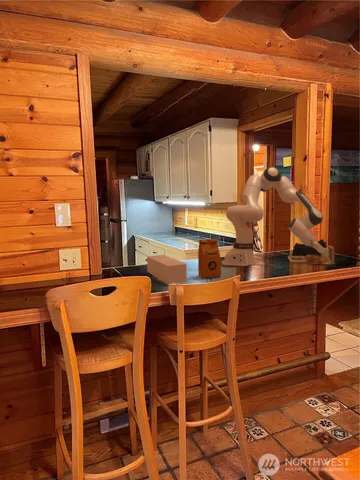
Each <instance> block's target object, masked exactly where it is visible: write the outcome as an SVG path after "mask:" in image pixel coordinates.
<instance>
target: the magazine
mask: <svg viewBox="0 0 360 480" xmlns="http://www.w3.org/2000/svg"><path fill="white" fill-rule="evenodd" d="M316 242H318V243H319V244H320V245H321V246H322V247H323V248H328V245H326V243H325V241H324V239H320V240H317V241H316ZM307 255H316V256H318V255H321V253H319V252H318V251H317V250H315V249H314V248H312V247H311V246H306V245H304V244H303V243H298V242H295V244H294V246H293V249H292V254H291V256H303V257H307Z"/></svg>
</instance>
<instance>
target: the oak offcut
mask: <svg viewBox="0 0 360 480" xmlns="http://www.w3.org/2000/svg"><path fill="white" fill-rule="evenodd" d="M306 257H307V258H309V259H313V258H317V259H318V255H307V256H306Z"/></svg>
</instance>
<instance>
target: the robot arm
mask: <svg viewBox="0 0 360 480" xmlns="http://www.w3.org/2000/svg"><path fill="white" fill-rule="evenodd" d="M272 189H275V190H276V191H277V194H278V196H279V198H280V199H281V201H283V202H284V203H286V204H287V203H288V204H291V203H292V204H293V203H295V202H299V203H300V204H301V205H302V207H303V208H304V209H305V210H306V211H307V212H306V213H305V214H304V215H302V216H300V217H299V218H293V219H291V221H290V222H289V223H288V230H290V232H291V233H292V234H293V235H294V236H295V237H296V238H298V240H299V241H300V242H301V244H304V245H306V246H311V247H312V248H314V249H315V250H317V251H318V252H319V253H322V254H323V255H324V256H325V255H326V253H325V252H324V251H325V249H324V248H323V247H322V246H321V245H320V244H319V243H318V242H317V241H318V240H317V235H316V234H315V233H313V232H312V231H311V229H312V228H314V227H316V226H318V225H320V224H321V223H322V222H323V219H324V215H323V213H322V212H321V211H320V210H319V209H318V208H317V207H316V206H315V205H314V203H313V202H311V200H310V199H309V198H308V197H307V195H305V193H304V192H303V191H301V190H298V189H296V188H295V186H294V184H293V183H292V182H291V181H290V180H289V178H288V177H287V176H285V175H282V173H281V172H280V170H279V169H278V168H277V167H275V166H268V167H266V168H265V169H264V171H263V172H262V173H261V174H260V175H258V174H253V175H250V176H249V177H248V179H247V181H246V183H245V185H244V188H243V191H242V193H241V200H242V201H243V202H244V203H245V204H242V205H241V204H238V205H237V204H236V205H231V206H228V208H227V209H226V211H225V217H226V218H227V220H228V221H229V222H230V223H231V224H232V225H233V227H234V229H235V230H234V231H235V241H233V242H232V247H233V248H231V249H230V250H228V252H226V253H225V256H224V259H223V260H221V265H223V266H239V267H247V266H253V265H255V264H256V261H255V256H254V248H255V247H254V245H255V244H254V231H253V230H252V228H250V227H248V225H247V223H256V222H260V221H262V219H263V218H264V215H265V213H264V211H265V210H264V209H263V208H262V206H261V205H260V204H259V198H260V197H259V196H260V195H261V194H260V193H261V192H264V193H267V192H270V190H272Z"/></svg>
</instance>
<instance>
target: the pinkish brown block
mask: <svg viewBox="0 0 360 480" xmlns="http://www.w3.org/2000/svg"><path fill="white" fill-rule="evenodd" d="M146 266H147V268H146V270H147V273H148V272H149V273H150V274H152V275H153V276H155V277H157V278H158V279H160V280H161V281H160V280H159V281H160V282H162V281H163V282H165V283H166V285H167V284H172V283H182V282H187V283H188V278H187V277H188V275H187V274H188V272H187V271H188V270H187V269H188V267H187V266H188V265H187V263H185V262H183V261H180V260H178V259H176V258H173V257H170V256H167V255H165V254H158V255H148V256H146ZM150 274H149V275H150ZM153 276H152V277H153ZM155 277H154V278H155ZM158 279H157V280H158ZM163 282H162V283H163ZM165 283H164V284H165Z"/></svg>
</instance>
